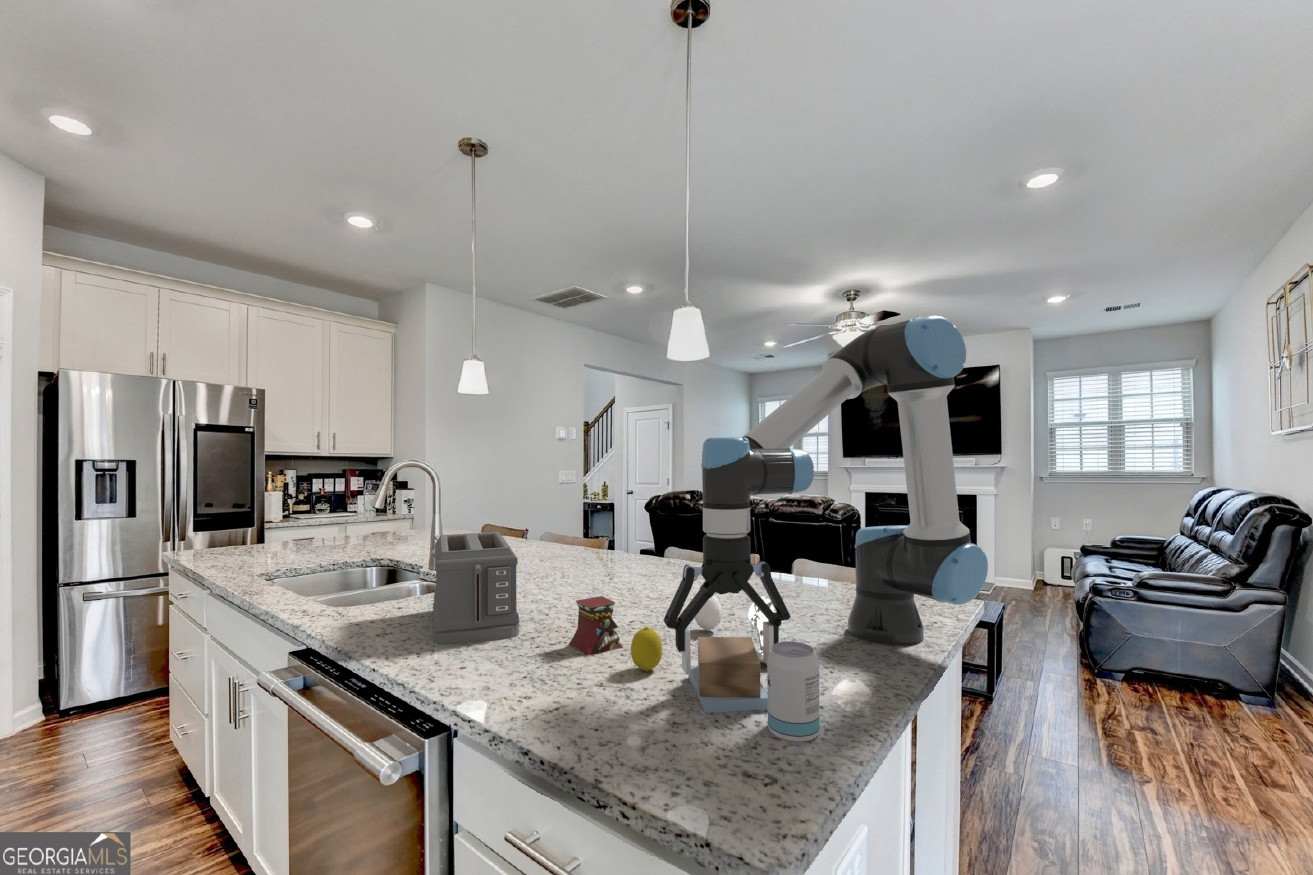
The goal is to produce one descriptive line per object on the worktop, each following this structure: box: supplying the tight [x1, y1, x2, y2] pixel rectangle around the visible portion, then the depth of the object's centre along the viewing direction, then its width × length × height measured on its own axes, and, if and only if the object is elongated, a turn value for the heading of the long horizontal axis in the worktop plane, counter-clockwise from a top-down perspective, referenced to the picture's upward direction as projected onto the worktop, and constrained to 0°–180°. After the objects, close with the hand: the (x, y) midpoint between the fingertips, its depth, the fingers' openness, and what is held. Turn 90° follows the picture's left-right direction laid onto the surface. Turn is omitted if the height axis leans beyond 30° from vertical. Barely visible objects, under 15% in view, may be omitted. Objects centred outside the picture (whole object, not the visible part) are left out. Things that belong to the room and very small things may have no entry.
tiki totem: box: [568, 595, 624, 656], centre depth 116 cm, size 9×9×9 cm
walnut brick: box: [697, 636, 761, 697], centre depth 93 cm, size 9×12×5 cm
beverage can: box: [766, 641, 821, 743], centre depth 80 cm, size 7×7×12 cm
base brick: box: [688, 664, 768, 714], centre depth 93 cm, size 10×14×3 cm
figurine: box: [748, 595, 784, 665], centre depth 107 cm, size 9×6×12 cm
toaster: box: [432, 531, 520, 646], centre depth 131 cm, size 17×31×19 cm, turn 21°
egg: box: [694, 595, 723, 631], centre depth 127 cm, size 6×6×8 cm
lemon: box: [630, 626, 663, 672], centre depth 103 cm, size 6×6×8 cm
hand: (727, 667), depth 93 cm, fingers open, 13 cm apart
